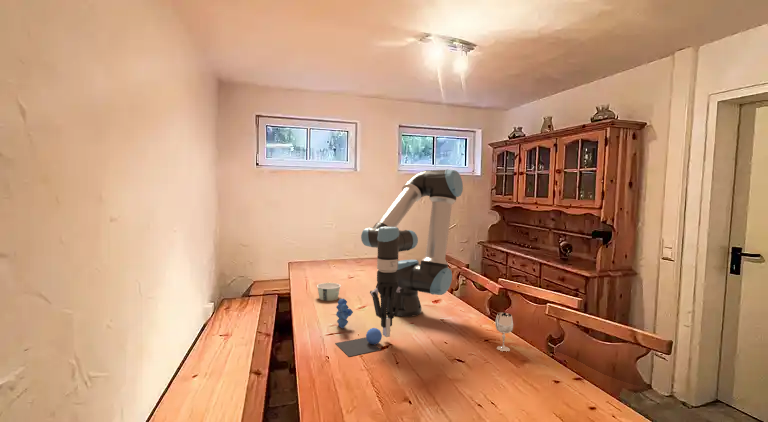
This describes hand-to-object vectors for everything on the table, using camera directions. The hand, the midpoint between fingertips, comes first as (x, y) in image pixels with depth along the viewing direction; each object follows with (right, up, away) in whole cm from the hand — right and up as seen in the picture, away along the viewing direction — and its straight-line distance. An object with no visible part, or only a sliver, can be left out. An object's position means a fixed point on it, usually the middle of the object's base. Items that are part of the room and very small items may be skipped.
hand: (386, 335), depth 134 cm
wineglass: (+40, -3, -5) cm, 41 cm away
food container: (-29, +1, +54) cm, 61 cm away
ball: (-4, +1, -3) cm, 5 cm away
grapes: (-16, -1, +13) cm, 21 cm away
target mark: (-10, -2, -5) cm, 11 cm away
